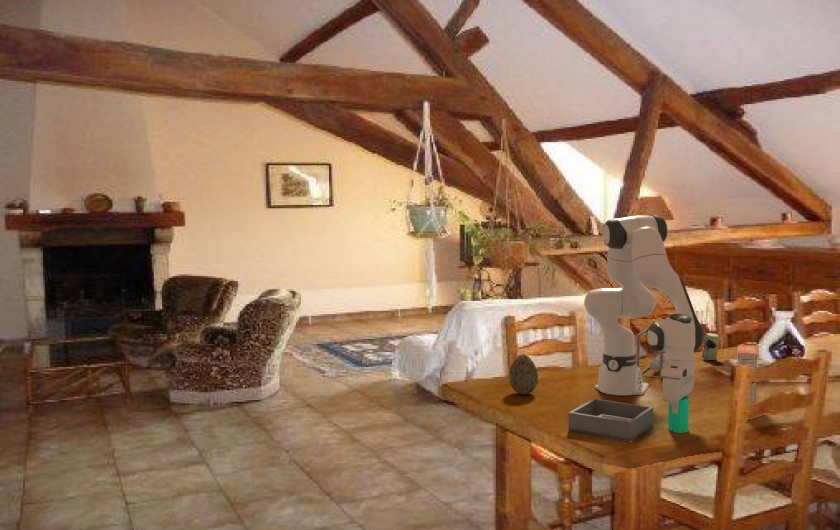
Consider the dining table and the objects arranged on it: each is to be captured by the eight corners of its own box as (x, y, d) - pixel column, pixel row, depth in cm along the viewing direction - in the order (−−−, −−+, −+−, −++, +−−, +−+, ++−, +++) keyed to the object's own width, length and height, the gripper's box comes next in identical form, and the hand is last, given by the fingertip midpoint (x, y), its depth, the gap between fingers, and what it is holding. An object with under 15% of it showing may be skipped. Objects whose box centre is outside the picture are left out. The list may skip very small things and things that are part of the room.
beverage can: (706, 358, 347) (706, 331, 346) (721, 360, 341) (722, 333, 340) (698, 360, 343) (699, 333, 342) (714, 362, 337) (715, 335, 336)
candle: (691, 429, 242) (692, 391, 241) (683, 434, 237) (684, 395, 236) (673, 425, 246) (673, 388, 245) (665, 430, 241) (665, 392, 240)
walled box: (593, 416, 257) (593, 398, 257) (653, 425, 246) (653, 407, 245) (568, 431, 241) (568, 412, 241) (630, 442, 230) (631, 422, 229)
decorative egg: (503, 394, 287) (502, 354, 286) (520, 389, 295) (520, 350, 293) (526, 399, 279) (526, 358, 278) (543, 394, 287) (544, 354, 286)
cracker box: (735, 403, 271) (737, 344, 270) (754, 404, 269) (756, 345, 267) (736, 413, 258) (738, 352, 257) (756, 415, 256) (757, 353, 254)
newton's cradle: (662, 380, 307) (663, 336, 305) (635, 377, 312) (636, 333, 310) (678, 365, 332) (679, 324, 331) (653, 363, 338) (654, 323, 336)
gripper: (679, 359, 250) (678, 401, 251) (659, 372, 233) (658, 416, 235) (699, 362, 246) (698, 404, 248) (680, 374, 230) (679, 420, 231)
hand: (678, 410), depth 241 cm, fingers closed on candle, 5 cm apart
